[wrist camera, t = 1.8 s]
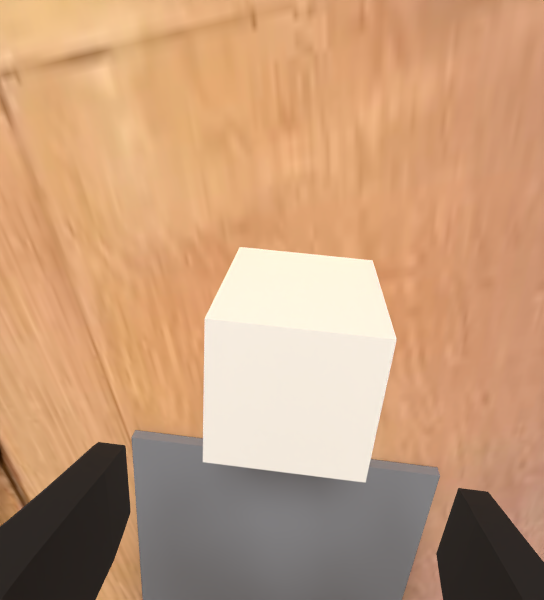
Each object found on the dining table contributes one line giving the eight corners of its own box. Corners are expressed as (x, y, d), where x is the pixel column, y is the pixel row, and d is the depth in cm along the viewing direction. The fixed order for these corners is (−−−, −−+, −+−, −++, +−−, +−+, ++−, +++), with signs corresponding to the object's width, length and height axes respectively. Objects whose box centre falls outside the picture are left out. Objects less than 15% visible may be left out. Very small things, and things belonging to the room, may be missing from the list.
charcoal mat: (147, 613, 28) (144, 622, 27) (135, 430, 22) (131, 437, 21) (382, 648, 27) (384, 657, 27) (437, 467, 21) (439, 475, 21)
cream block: (234, 358, 20) (202, 462, 14) (240, 246, 18) (204, 318, 12) (352, 372, 20) (365, 482, 14) (372, 259, 17) (396, 339, 12)
